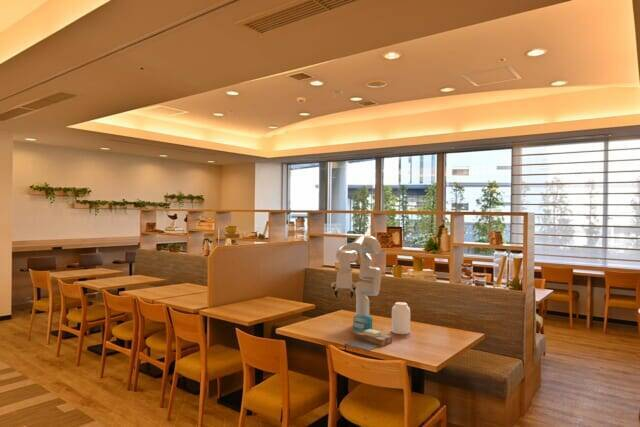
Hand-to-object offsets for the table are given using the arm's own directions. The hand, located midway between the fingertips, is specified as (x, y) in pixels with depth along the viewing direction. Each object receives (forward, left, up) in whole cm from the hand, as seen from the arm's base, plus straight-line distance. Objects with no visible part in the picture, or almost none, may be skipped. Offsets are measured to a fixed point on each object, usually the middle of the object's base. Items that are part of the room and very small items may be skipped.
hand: (344, 297), depth 279 cm
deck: (-9, +17, -27) cm, 33 cm away
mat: (+3, +17, -27) cm, 32 cm away
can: (-39, +19, -27) cm, 51 cm away
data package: (-17, +3, -27) cm, 32 cm away
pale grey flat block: (-8, +17, -23) cm, 29 cm away
